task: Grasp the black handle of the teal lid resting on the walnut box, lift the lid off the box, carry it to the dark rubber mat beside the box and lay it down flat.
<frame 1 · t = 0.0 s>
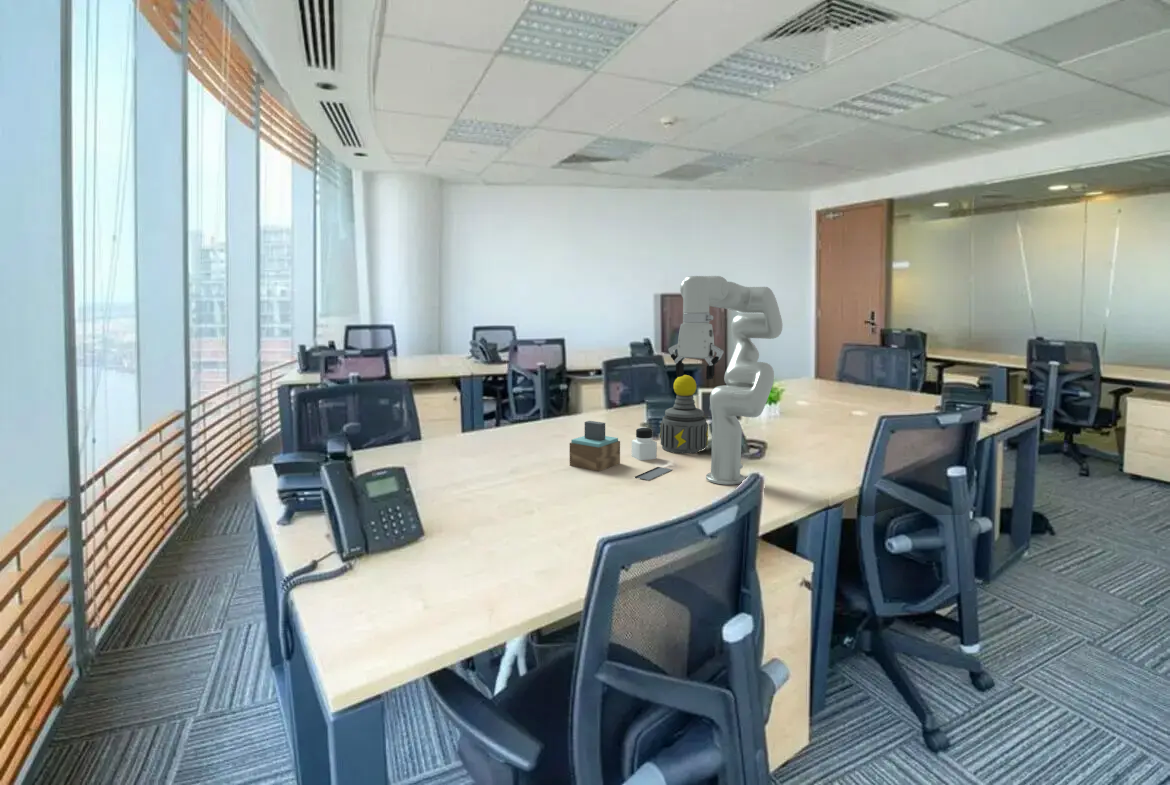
hand: (694, 377, 183), 37 cm above the table, tool pointing down, fingers open, 9 cm apart
decorative lamp: (683, 449, 250), on the table
mat: (640, 471, 217), on the table
box: (594, 466, 224), on the table
lid: (594, 442, 223), point 9 cm above the table, touching box
medicine bottle: (643, 459, 234), on the table
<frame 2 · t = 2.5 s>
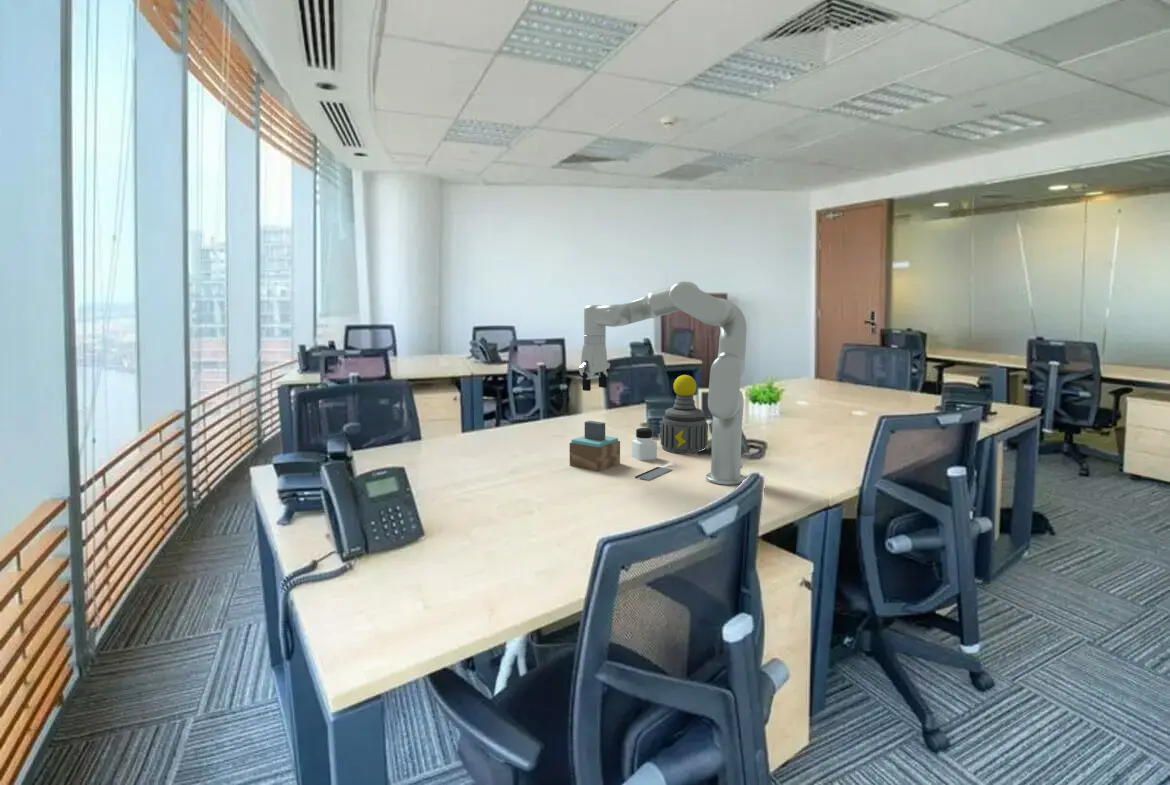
hand: (594, 388, 220), 28 cm above the table, tool pointing down, fingers open, 9 cm apart
nothing on the table moved.
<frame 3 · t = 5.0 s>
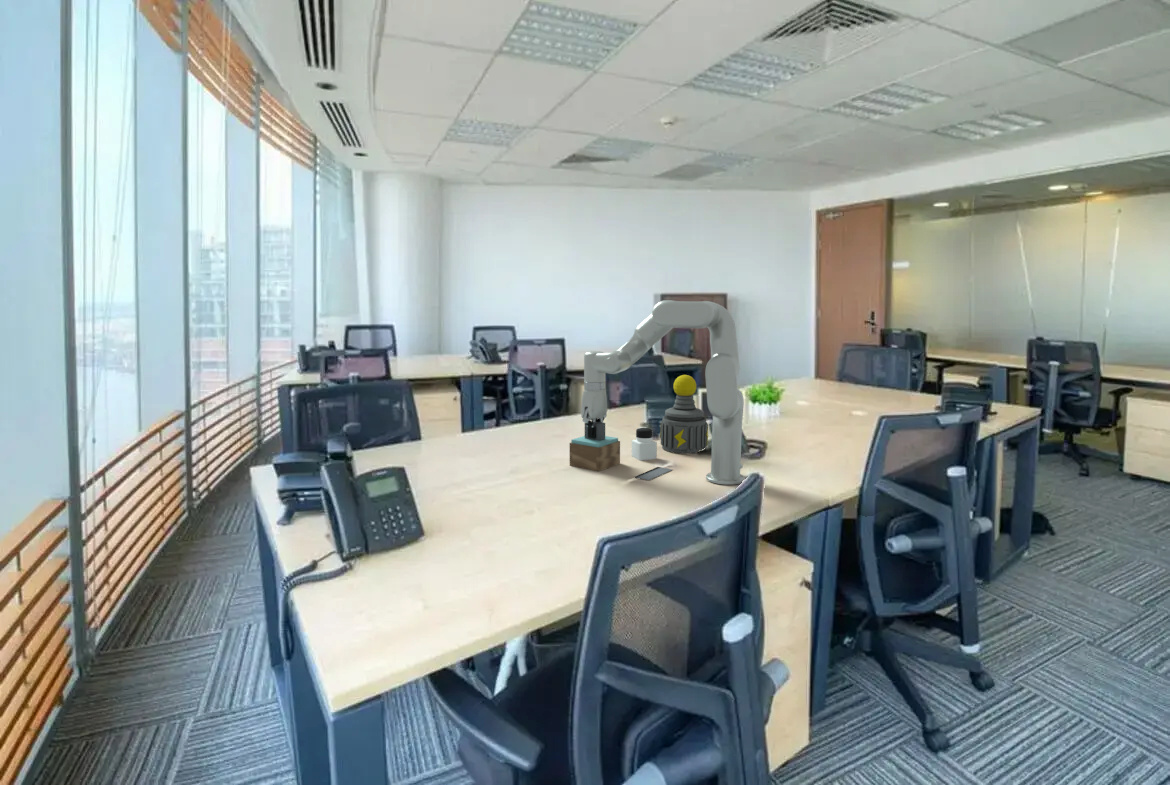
hand: (594, 436, 223), 11 cm above the table, tool pointing down, fingers closed on lid, 3 cm apart
lid: (594, 442, 223), point 9 cm above the table, touching box, gripper
everything else where it was.
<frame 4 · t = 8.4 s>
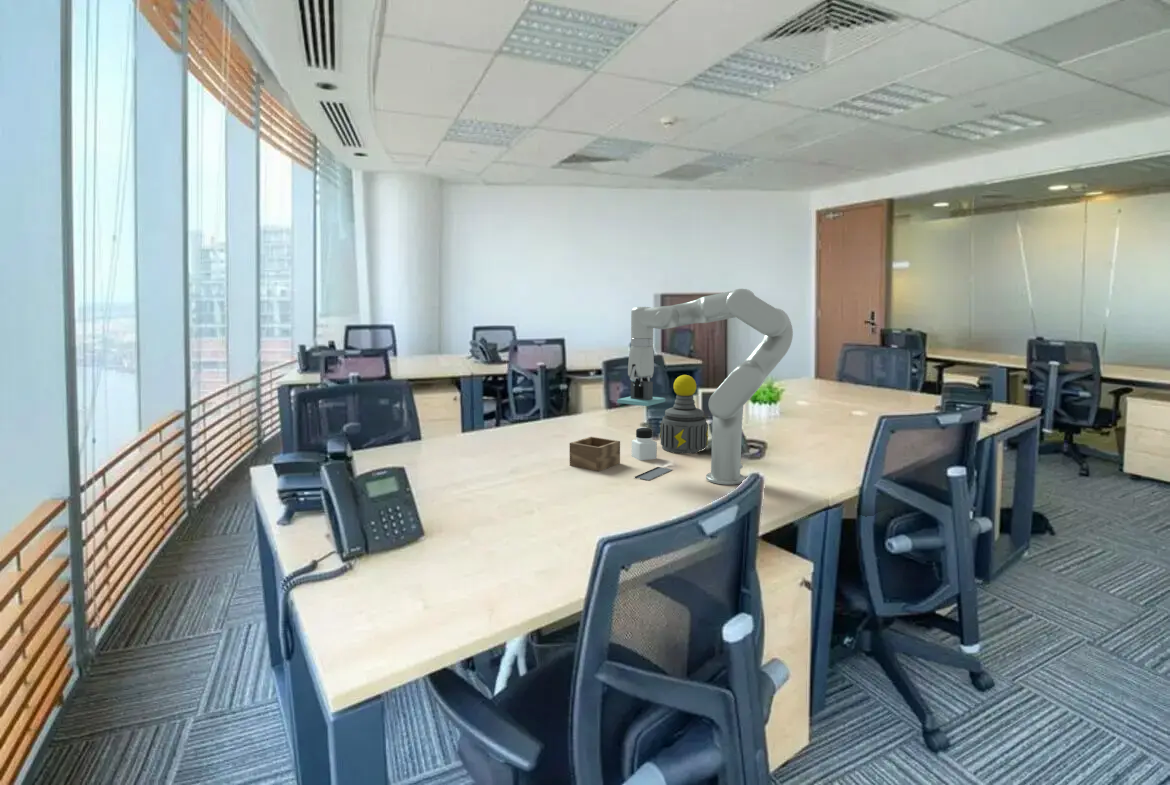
hand: (641, 396, 213), 27 cm above the table, tool pointing down, fingers closed on lid, 3 cm apart
lid: (641, 402, 214), point 25 cm above the table, touching gripper
everything else where it was.
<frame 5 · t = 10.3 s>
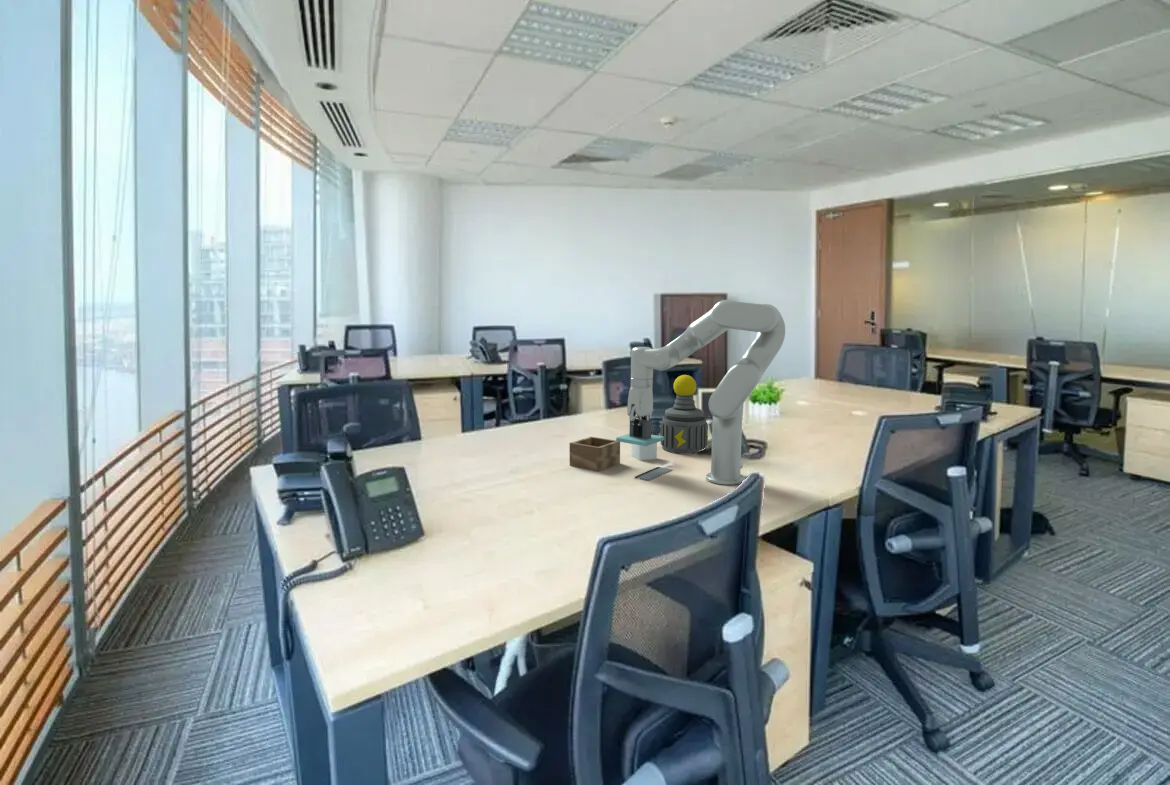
hand: (640, 435, 215), 13 cm above the table, tool pointing down, fingers closed on lid, 3 cm apart
lid: (640, 440, 216), point 11 cm above the table, touching gripper
everything else where it was.
when the fingers open (4 cm above the table, at t = 12.1 s): lid drops 2 cm, resting on mat.
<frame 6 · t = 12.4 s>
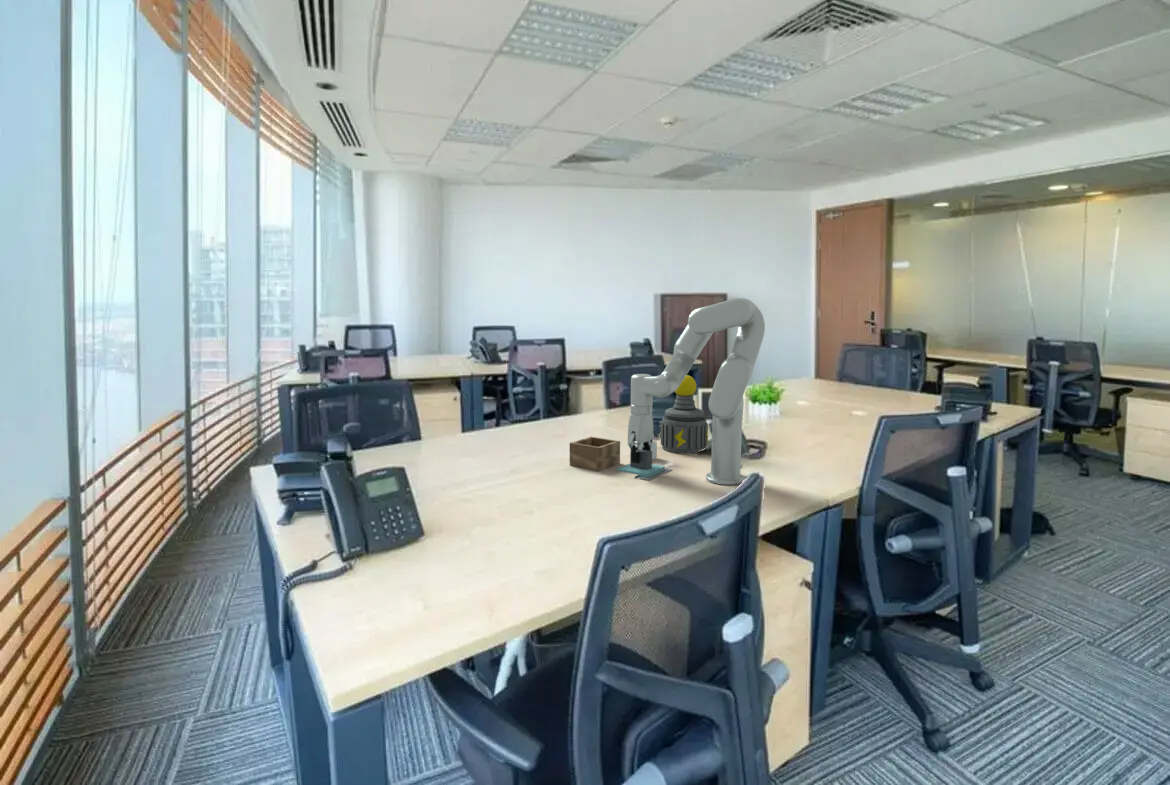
hand: (641, 460, 217), 4 cm above the table, tool pointing down, fingers open, 6 cm apart
lid: (641, 470, 217), resting on mat
everything else where it was.
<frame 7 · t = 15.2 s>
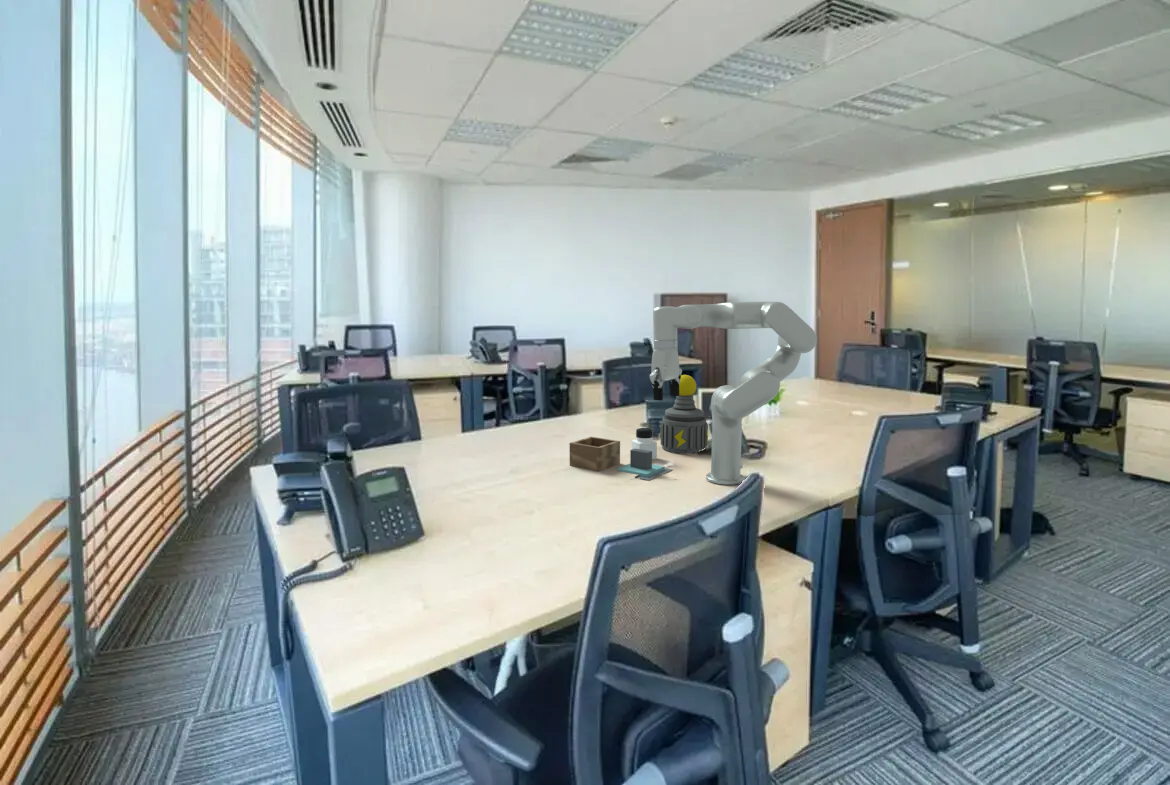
hand: (666, 397, 202), 28 cm above the table, tool pointing down, fingers open, 9 cm apart
nothing on the table moved.
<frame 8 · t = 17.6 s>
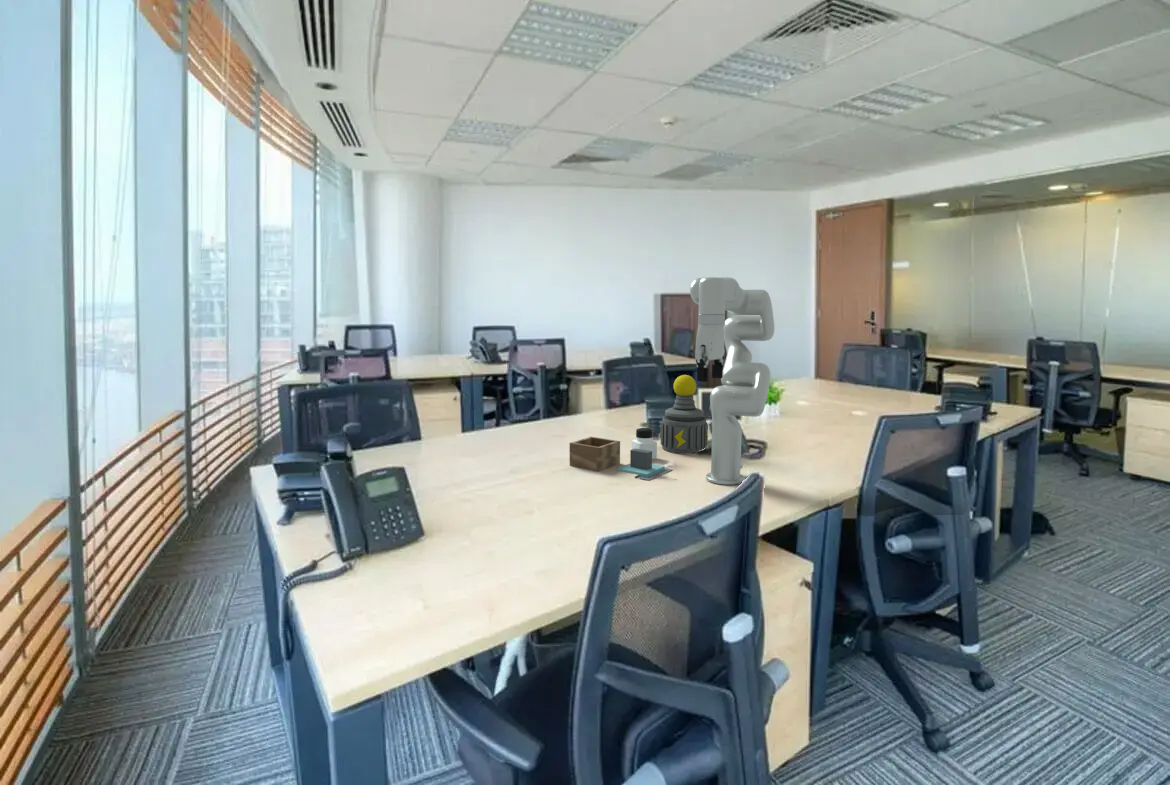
hand: (709, 379, 182), 36 cm above the table, tool pointing down, fingers open, 9 cm apart
nothing on the table moved.
at the end: lid inside the target area on the mat (0.0 cm from its centre), point 0.3 cm above the mat's base; lid tilted 0°; the gripper is holding nothing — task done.
